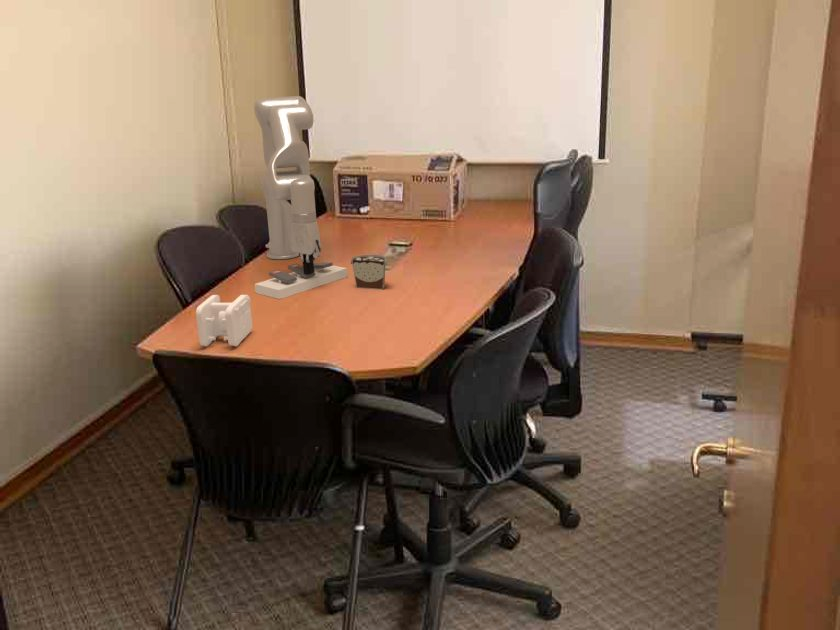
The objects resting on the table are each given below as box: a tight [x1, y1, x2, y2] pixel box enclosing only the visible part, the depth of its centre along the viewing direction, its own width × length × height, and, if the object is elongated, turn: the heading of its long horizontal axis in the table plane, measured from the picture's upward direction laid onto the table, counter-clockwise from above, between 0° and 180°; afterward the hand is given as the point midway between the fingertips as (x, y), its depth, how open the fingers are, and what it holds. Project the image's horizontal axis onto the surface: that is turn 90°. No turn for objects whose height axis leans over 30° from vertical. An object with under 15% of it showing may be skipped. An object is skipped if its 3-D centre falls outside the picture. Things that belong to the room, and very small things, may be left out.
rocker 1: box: [268, 269, 297, 283], centre depth 283 cm, size 9×4×1 cm, turn 49°
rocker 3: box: [313, 261, 334, 268], centre depth 294 cm, size 9×4×1 cm, turn 49°
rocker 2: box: [287, 262, 315, 278], centre depth 288 cm, size 9×4×1 cm, turn 50°
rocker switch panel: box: [254, 264, 348, 300], centre depth 289 cm, size 12×30×4 cm, turn 139°
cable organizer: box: [195, 294, 253, 348], centre depth 240 cm, size 15×11×12 cm
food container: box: [350, 253, 388, 291], centre depth 283 cm, size 12×6×10 cm, turn 71°
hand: (309, 273), depth 286 cm, fingers closed
